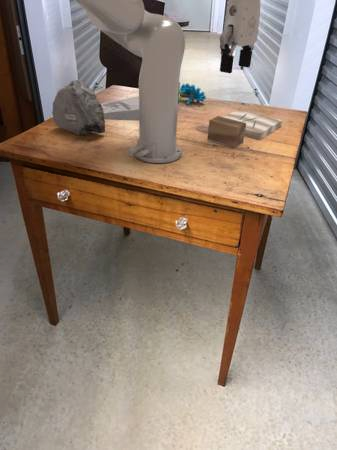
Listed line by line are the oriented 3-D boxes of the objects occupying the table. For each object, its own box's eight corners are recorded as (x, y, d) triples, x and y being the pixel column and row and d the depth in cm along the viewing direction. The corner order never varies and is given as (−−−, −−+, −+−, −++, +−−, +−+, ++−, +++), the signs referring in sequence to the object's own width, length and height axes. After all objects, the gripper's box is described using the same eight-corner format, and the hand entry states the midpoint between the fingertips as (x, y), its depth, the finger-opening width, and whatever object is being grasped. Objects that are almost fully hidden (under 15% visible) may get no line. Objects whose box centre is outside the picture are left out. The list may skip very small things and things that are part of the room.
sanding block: (234, 148, 100) (237, 127, 97) (207, 140, 104) (209, 119, 101) (243, 143, 103) (246, 123, 100) (216, 135, 108) (218, 115, 104)
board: (259, 139, 106) (260, 133, 105) (213, 127, 113) (213, 120, 112) (281, 126, 116) (282, 120, 115) (237, 115, 124) (238, 109, 123)
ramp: (81, 117, 118) (80, 100, 115) (104, 104, 130) (103, 89, 127) (162, 130, 111) (162, 112, 108) (177, 115, 123) (178, 99, 120)
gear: (211, 99, 133) (198, 82, 125) (204, 113, 132) (191, 97, 125) (187, 97, 140) (174, 81, 132) (181, 110, 139) (168, 95, 131)
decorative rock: (108, 136, 104) (105, 82, 95) (92, 143, 99) (88, 87, 90) (67, 124, 111) (61, 72, 102) (51, 130, 106) (42, 76, 97)
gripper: (242, -9, 75) (231, 77, 85) (276, -9, 87) (263, 66, 97) (211, -11, 79) (204, 72, 89) (248, -11, 91) (238, 62, 100)
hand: (235, 69), depth 93 cm, fingers open, 9 cm apart
